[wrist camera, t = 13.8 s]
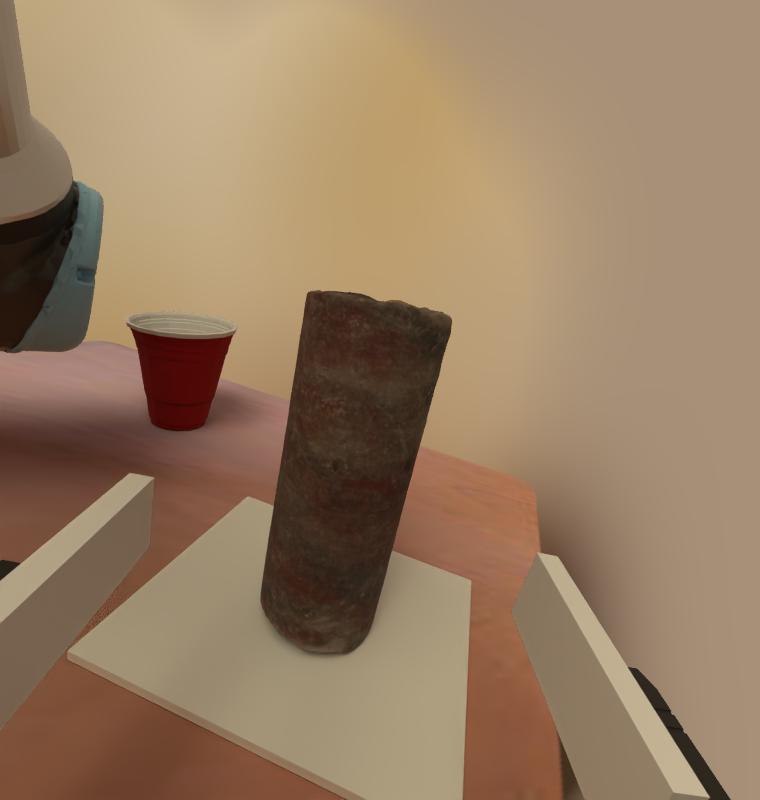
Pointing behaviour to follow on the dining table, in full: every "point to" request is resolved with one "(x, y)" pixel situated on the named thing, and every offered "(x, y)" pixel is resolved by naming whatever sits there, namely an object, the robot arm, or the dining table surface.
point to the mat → (300, 668)
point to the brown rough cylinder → (347, 462)
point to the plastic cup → (180, 364)
